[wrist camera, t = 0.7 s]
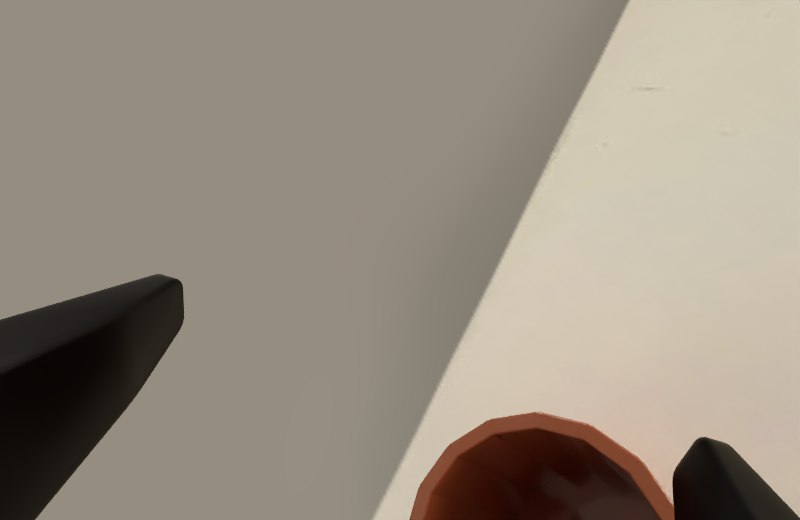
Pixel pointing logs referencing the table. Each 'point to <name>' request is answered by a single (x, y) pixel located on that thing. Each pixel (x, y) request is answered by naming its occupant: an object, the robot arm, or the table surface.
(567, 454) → the cup
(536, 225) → the table surface
